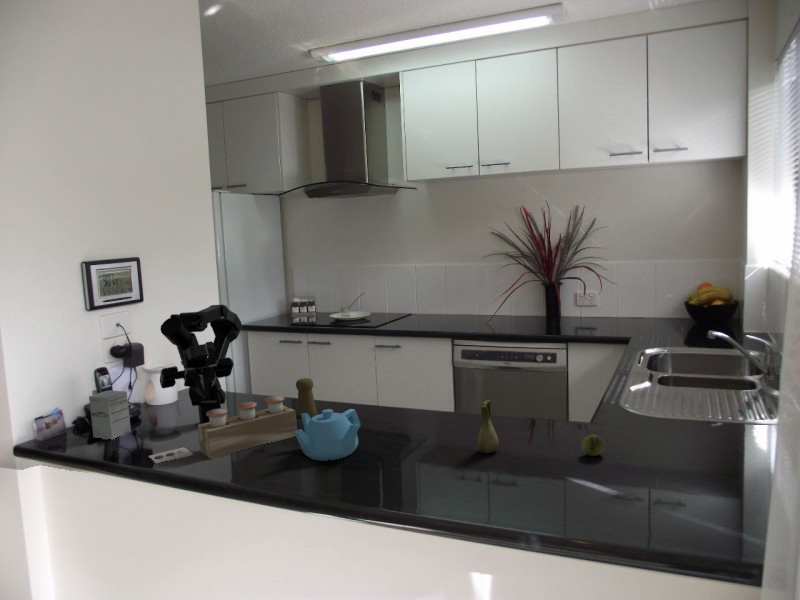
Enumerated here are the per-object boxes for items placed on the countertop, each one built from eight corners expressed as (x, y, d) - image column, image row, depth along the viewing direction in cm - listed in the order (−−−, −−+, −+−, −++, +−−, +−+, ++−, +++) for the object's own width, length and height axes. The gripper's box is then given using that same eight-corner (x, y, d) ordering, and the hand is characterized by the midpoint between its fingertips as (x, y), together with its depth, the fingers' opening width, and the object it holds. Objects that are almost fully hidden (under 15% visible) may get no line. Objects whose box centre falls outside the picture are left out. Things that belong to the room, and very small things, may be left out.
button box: (200, 451, 162) (197, 425, 161) (285, 429, 175) (282, 405, 175) (210, 458, 155) (208, 431, 154) (297, 435, 169) (295, 410, 168)
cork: (313, 417, 186) (310, 381, 184) (294, 417, 187) (291, 381, 186) (319, 411, 191) (316, 376, 190) (301, 411, 193) (298, 376, 191)
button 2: (263, 416, 170) (261, 398, 169) (280, 412, 173) (279, 394, 172) (271, 420, 166) (269, 402, 165) (289, 416, 169) (287, 398, 168)
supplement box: (92, 439, 179) (87, 396, 177) (113, 431, 185) (108, 389, 184) (112, 440, 176) (106, 397, 174) (132, 432, 183) (127, 390, 181)
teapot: (360, 461, 147) (357, 417, 146) (296, 466, 146) (293, 422, 145) (362, 440, 162) (358, 400, 161) (303, 445, 161) (300, 404, 160)
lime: (578, 455, 141) (578, 433, 141) (595, 451, 143) (595, 430, 142) (592, 461, 137) (591, 439, 136) (609, 457, 139) (608, 435, 138)
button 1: (205, 430, 161) (203, 411, 160) (224, 425, 164) (223, 407, 163) (212, 435, 156) (210, 415, 156) (232, 430, 159) (230, 411, 159)
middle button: (235, 423, 165) (233, 405, 165) (253, 418, 168) (252, 400, 168) (242, 427, 161) (240, 408, 161) (261, 422, 164) (259, 404, 164)
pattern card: (148, 457, 159) (148, 455, 159) (184, 448, 165) (183, 446, 165) (156, 464, 154) (155, 462, 154) (192, 455, 159) (192, 452, 159)
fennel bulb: (488, 446, 151) (485, 397, 150) (504, 450, 148) (502, 400, 146) (473, 453, 147) (470, 403, 146) (489, 457, 144) (486, 406, 142)
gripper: (157, 338, 161) (172, 387, 153) (227, 328, 172) (245, 373, 164) (153, 364, 169) (168, 411, 161) (221, 353, 179) (238, 397, 171)
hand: (206, 397), depth 164 cm, fingers closed
